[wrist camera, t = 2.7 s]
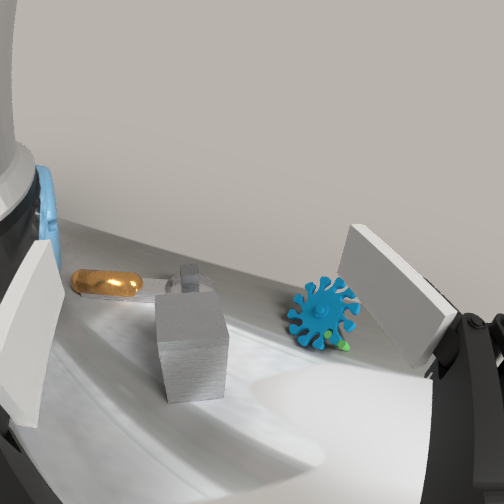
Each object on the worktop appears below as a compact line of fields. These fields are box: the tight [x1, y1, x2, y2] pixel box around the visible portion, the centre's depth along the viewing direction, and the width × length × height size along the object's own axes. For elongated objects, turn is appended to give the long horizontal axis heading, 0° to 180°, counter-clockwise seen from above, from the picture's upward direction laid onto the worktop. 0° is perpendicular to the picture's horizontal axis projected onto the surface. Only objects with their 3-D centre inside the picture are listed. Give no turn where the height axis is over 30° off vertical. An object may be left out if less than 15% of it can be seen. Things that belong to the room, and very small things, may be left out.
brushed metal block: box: [155, 291, 229, 403], centre depth 29 cm, size 6×6×10 cm
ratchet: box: [71, 264, 215, 303], centre depth 41 cm, size 22×7×5 cm, turn 95°
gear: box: [287, 277, 360, 351], centre depth 39 cm, size 11×6×10 cm
